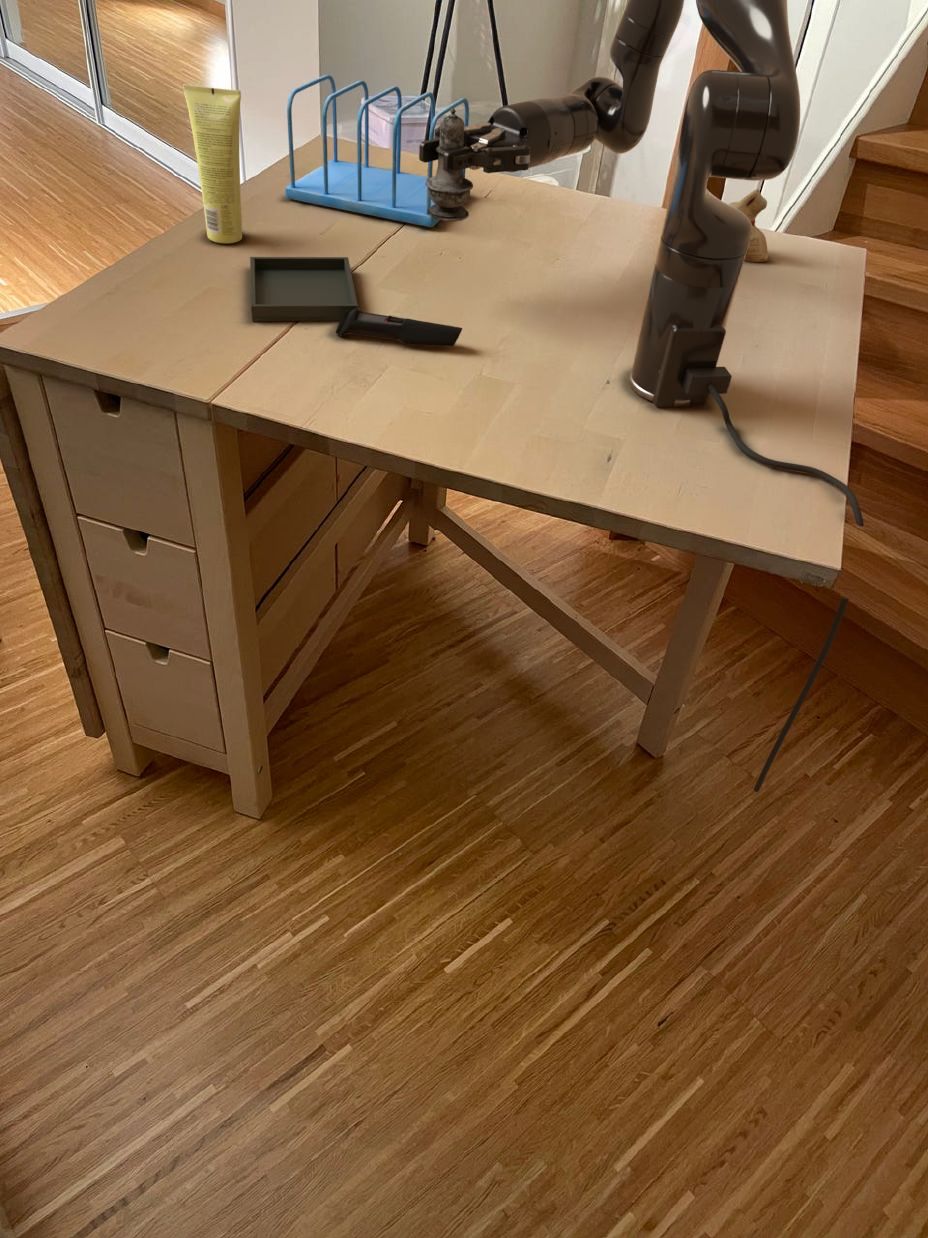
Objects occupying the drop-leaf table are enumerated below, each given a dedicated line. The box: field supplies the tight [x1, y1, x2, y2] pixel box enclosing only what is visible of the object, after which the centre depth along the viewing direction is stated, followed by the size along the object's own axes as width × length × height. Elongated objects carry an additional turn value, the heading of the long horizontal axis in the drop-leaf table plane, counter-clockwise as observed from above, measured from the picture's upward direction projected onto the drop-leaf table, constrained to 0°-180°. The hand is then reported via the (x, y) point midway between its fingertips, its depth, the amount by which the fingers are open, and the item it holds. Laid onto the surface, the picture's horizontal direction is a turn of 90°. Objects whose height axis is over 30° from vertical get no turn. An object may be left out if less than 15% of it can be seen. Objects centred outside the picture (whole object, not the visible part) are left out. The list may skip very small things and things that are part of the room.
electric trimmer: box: [335, 308, 463, 347], centre depth 113 cm, size 4×16×3 cm, turn 79°
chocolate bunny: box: [728, 188, 770, 263], centre depth 140 cm, size 6×8×10 cm
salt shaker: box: [426, 107, 474, 222], centre depth 111 cm, size 6×6×12 cm
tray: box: [249, 256, 359, 322], centre depth 120 cm, size 15×13×2 cm
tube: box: [182, 83, 243, 244], centre depth 126 cm, size 6×5×20 cm
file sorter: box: [285, 74, 470, 228], centre depth 144 cm, size 25×17×15 cm
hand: (433, 157), depth 109 cm, fingers closed on salt shaker, 3 cm apart
